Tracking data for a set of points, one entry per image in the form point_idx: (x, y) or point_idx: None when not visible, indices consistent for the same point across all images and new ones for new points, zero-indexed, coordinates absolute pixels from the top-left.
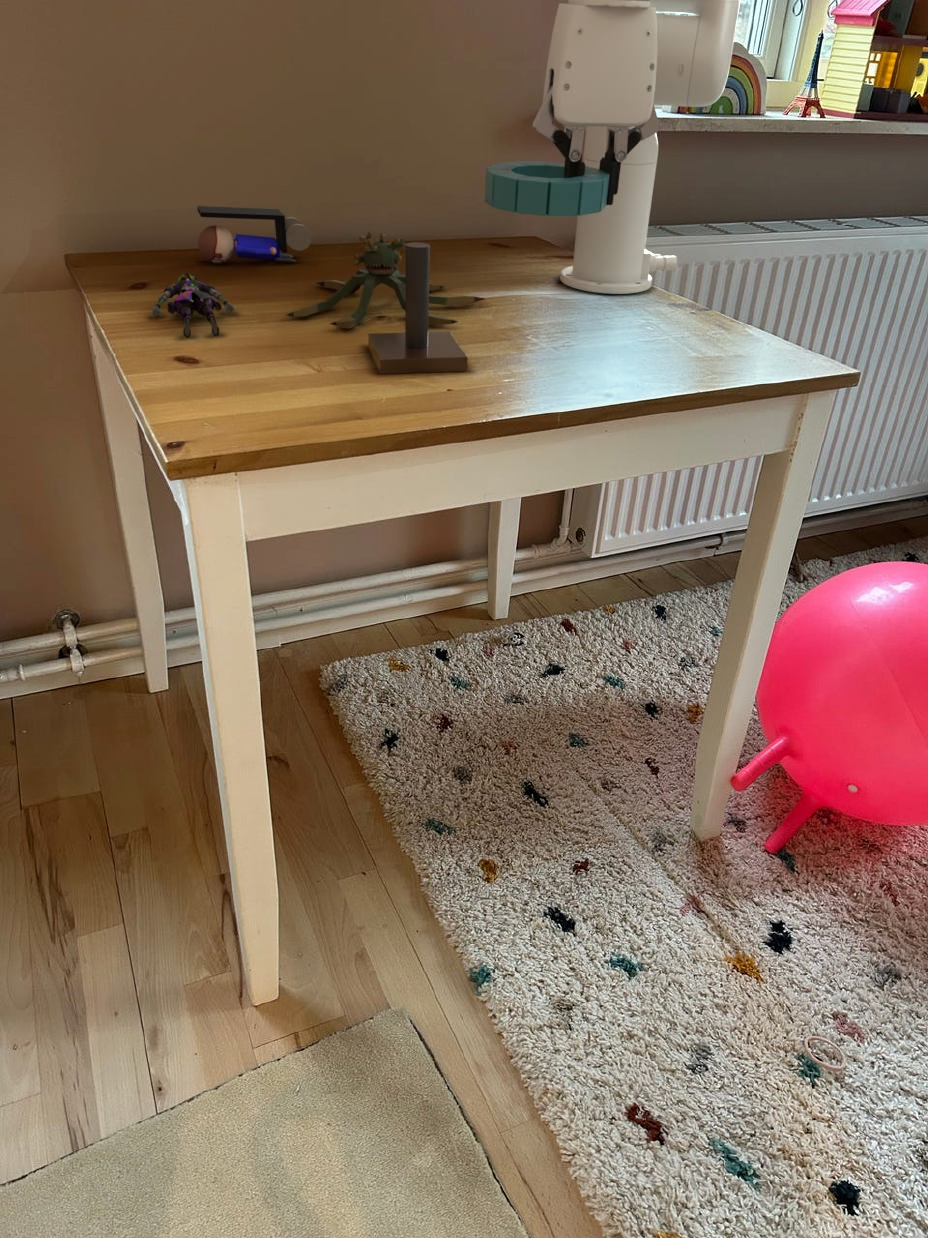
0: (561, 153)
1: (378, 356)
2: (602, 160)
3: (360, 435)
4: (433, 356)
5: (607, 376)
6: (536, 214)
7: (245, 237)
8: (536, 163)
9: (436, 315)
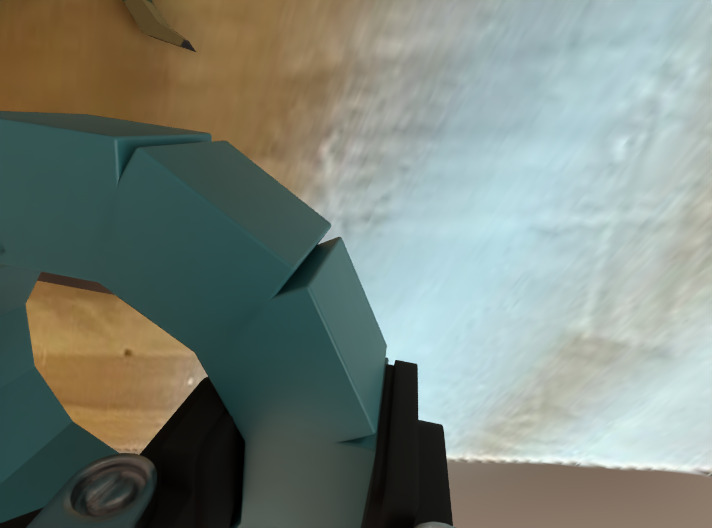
0: (85, 468)
1: None
2: (366, 520)
3: None
4: (101, 285)
5: None
6: None
7: None
8: (47, 213)
9: (149, 17)
